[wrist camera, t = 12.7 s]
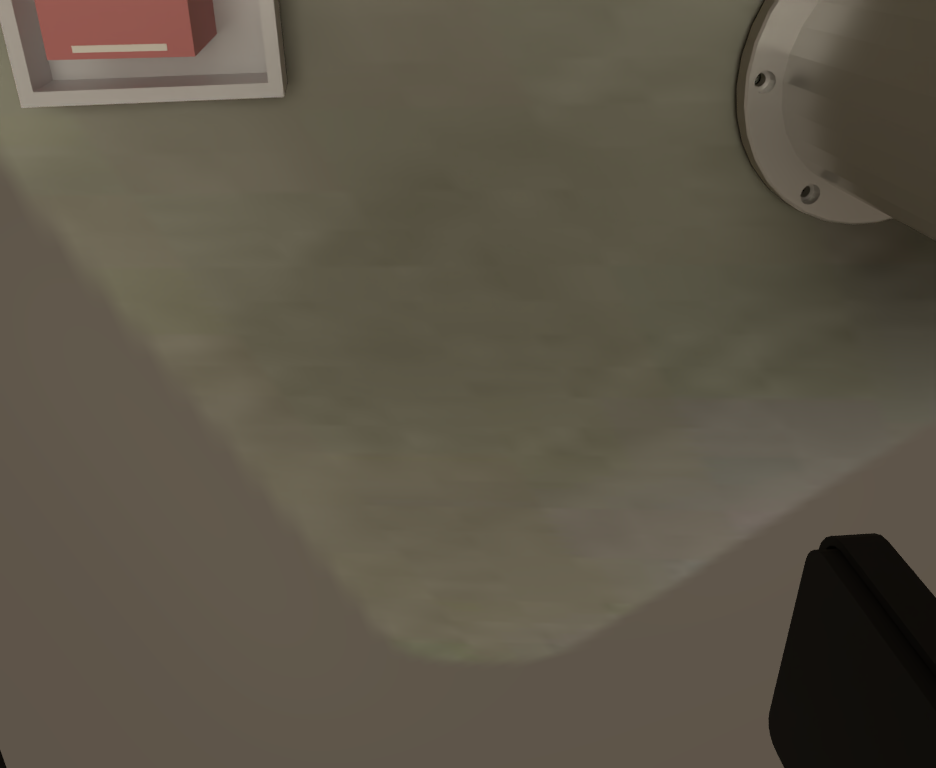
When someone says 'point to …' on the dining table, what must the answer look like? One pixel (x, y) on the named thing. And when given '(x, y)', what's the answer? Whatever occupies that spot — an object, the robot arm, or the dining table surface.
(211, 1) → the red block with stripe
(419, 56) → the dining table surface
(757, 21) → the robot arm
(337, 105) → the dining table surface
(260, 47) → the tray
